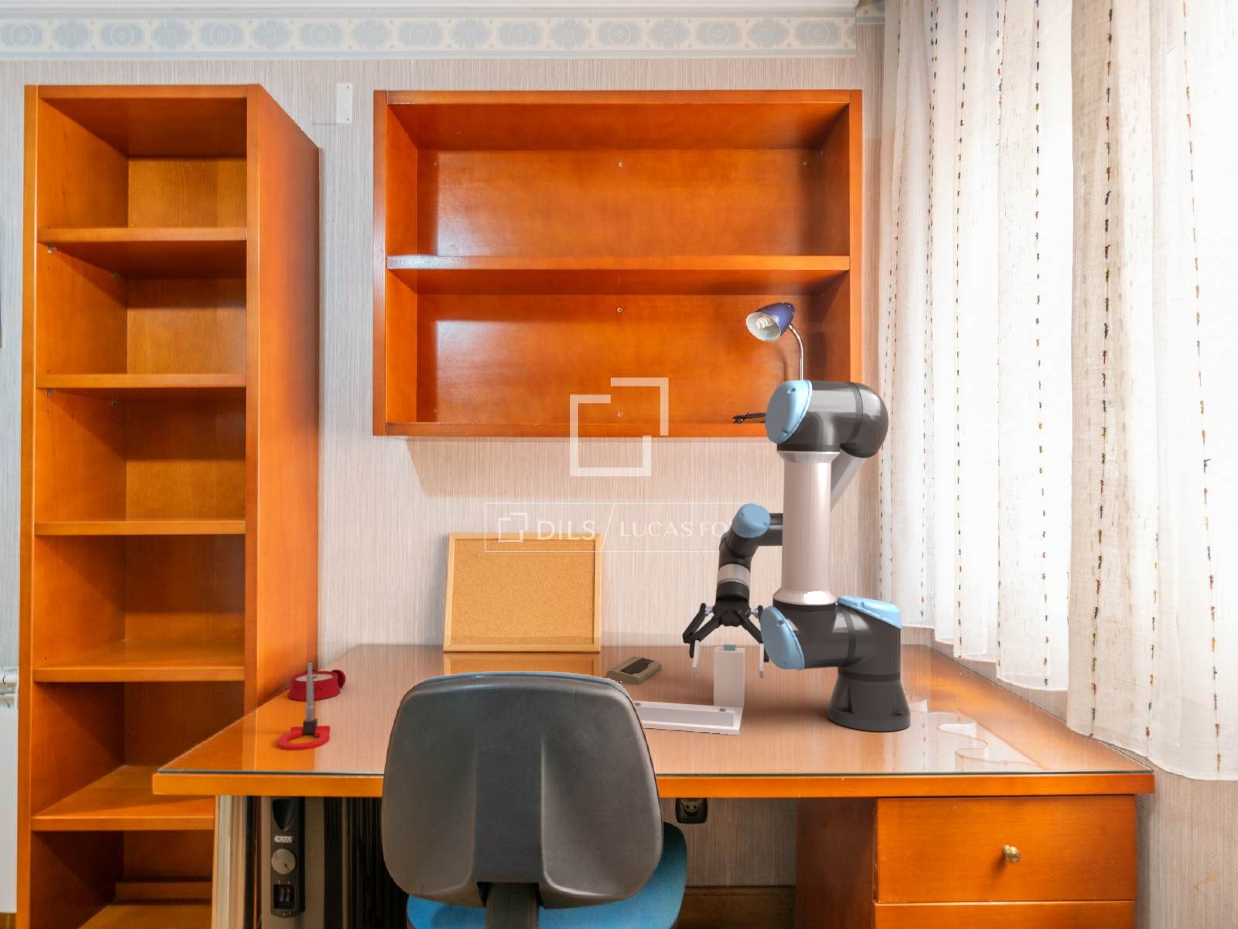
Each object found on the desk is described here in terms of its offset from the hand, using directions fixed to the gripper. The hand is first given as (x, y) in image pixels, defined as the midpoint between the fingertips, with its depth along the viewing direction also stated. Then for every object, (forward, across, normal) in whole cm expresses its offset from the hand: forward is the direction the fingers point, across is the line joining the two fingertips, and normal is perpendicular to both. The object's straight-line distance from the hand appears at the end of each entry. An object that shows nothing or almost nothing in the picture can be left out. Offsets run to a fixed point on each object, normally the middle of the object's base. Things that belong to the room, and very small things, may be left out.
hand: (727, 672), depth 162 cm
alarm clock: (+13, +87, +4) cm, 88 cm away
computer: (-8, +23, -18) cm, 30 cm away
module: (+5, 0, -4) cm, 6 cm away
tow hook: (+33, +70, +24) cm, 82 cm away
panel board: (+14, +8, +5) cm, 16 cm away
